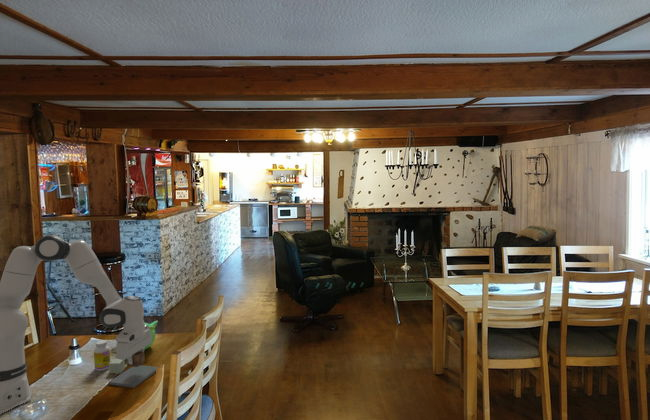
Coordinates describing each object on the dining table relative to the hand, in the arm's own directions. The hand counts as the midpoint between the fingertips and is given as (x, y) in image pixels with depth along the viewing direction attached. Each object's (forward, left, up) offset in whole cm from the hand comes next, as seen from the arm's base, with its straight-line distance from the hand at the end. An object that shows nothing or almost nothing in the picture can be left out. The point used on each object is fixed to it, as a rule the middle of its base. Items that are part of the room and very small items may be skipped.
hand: (136, 360), depth 203 cm
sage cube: (+2, +12, -7) cm, 14 cm away
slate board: (-1, 0, -7) cm, 7 cm away
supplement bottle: (+3, +21, -7) cm, 22 cm away
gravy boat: (+27, +18, -7) cm, 33 cm away
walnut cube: (0, 0, -2) cm, 2 cm away
